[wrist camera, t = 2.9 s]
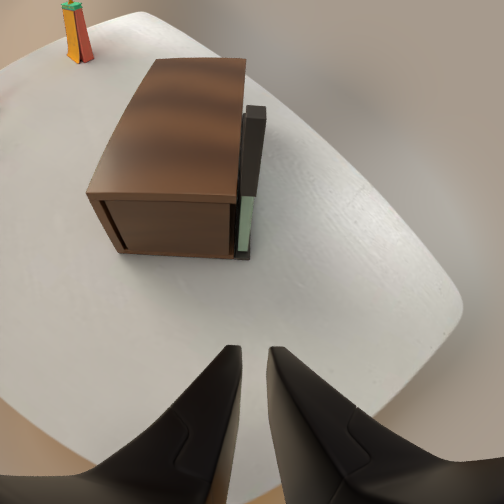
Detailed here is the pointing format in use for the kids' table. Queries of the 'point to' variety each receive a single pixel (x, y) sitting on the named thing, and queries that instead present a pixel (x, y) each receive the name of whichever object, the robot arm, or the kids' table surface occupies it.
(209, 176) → the cabinet
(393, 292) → the kids' table surface
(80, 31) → the building blocks
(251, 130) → the sliding door
